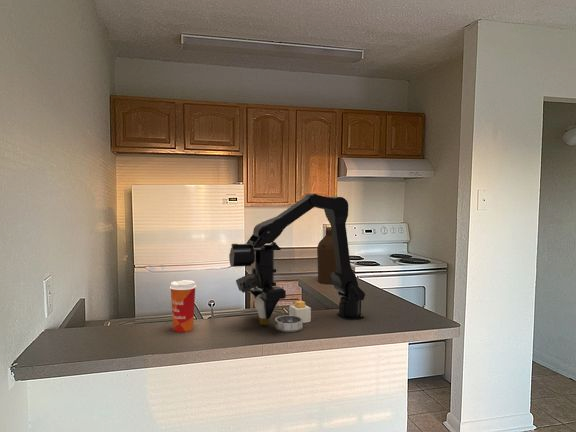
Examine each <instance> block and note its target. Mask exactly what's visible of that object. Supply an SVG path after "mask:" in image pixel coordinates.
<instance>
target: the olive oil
mask: <svg viewBox="0 0 576 432" xmlns="http://www.w3.org/2000/svg"><path fill="white" fill-rule="evenodd" d="M324 231H325V235H324V237H322V239H321V240H320V241H318V245H317V249H316V252H317V253H316V254H317V257H316V258H317V282H318V283H319V284H323V285H332V277H331V273H335V270H336V261H335V254H334V246H333V238H332V231H331V226H326V227H325V230H324Z"/></svg>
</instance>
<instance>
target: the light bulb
mask: <svg viewBox="0 0 576 432" xmlns="http://www.w3.org/2000/svg"><path fill="white" fill-rule="evenodd" d="M259 297H262V294H259V295H258V296H257V297H256V298H254V304H253V305H254V308H255V309H256V312H257V313H258V317H259V318H258V319H259V324H260V325H261V326H262V327H265V326H267V325H268V324H269V319H266V316H265V309H264V302H263V301H262V300H261V299H260V298H259Z"/></svg>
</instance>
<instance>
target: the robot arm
mask: <svg viewBox="0 0 576 432" xmlns="http://www.w3.org/2000/svg"><path fill="white" fill-rule="evenodd" d="M314 208H317V209H322V210H323V211H324V214H325V217H326V219H327V221H328V222H329V224H330V227H331V231H332V238H333V246H334V254H335V261H336V270H335V273H331V277H332V284H331V286H333V288H334V289H335V290H336V291H337V294H338V296H340V297H339V298H340V301H339V306H338V307H339V309H338V312H337V315H338V316H340V317H342V318H344V319H346V320H353V319H355V320H356V319H360V318H364V317H365V315H364V314H362V301H364V300H365V297H366V292H365V291H363V289H362V288H360V286H359V282H358V279H357V275H356V274H355V271H354V270H353V269H352V268H353V267H352V265H351V258H350V250H349V243H348V242H349V241H348V235H347V234H348V233H347V232H348V231H347V226H346V222H347V220H348V217H349V202H348V200H347V199H346V198H344V197H343V196H324V195H319V194H317V193H307V194H305V196H304V197H302V198H301V199H300V200H298V201H297V202H295V203H294V204H292V205H291V206H290V207H288V208H286V210H285V209H284V211H283V212H281V213H280V214H278V215H276V216H275V217H272V218H269V219H267V220H265V221H261V222H260V223H258V224H256V225H255V226H254V228H253V232H252V235H251V236H250V237H249V239H248V240H247V241H246V243H231V247H230V250H229V255H228V258H229V265H230V268H239V267H251V266H252V264H254V267H252V269H251V272H250V273H249V274H246V275H243V276H242V277H239V278H237V279H236V280H235V282H236V286H237V288H238V290H239V291H240V292H241V293H243V294H245V293H246V292H249V293H250V294H251V295H252V296H253V298H254V299H255V298H256V297H257V296H258V295H259V294H262V297H259V298H260V299H261V300H262V301H263V302H264V309H265V316H266V319H268V320H270V318H271V316H272V314H273V312H274V310H275V308H276V306H277V304H278V303H279V301H280V300H284V299H286V298H287V291H286V290H285V289H284V288H282V287H280V286H277V282H275V281H274V279H275V278H274V277H275V276H274V274H275V273H276V274H277V269H276V268H275V266H274V265H275V251H281V250H282V249H281V247H280V246H279V245H278V244H277V242H276V240H277V239H278V238H279V237H280V236H281V234H282V233H283V232H284V230H285V229H286V227H288V226H290V225H291V224H292V223H294V222H296V221H297V220H298V219H299V218H301V217H303V215H305V214H306V213H308V212H309V211H311V210H312V209H314Z"/></svg>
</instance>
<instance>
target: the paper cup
mask: <svg viewBox="0 0 576 432" xmlns="http://www.w3.org/2000/svg"><path fill="white" fill-rule="evenodd" d="M196 288H197V284H196V282H195V281H194V280H190V279H189V280H188V279H183V280H176V281H175V280H174V281H171V282H170V286H169V289H170V298H171V300H170V301H171V314H172V316H171V317H172V327H173V328H172V329H173V331H174V332H175V333H188V332H190V331H191V332H192V331H193V328H194V318H195V316H194V315H195V303H196V302H195V299H196Z"/></svg>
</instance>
